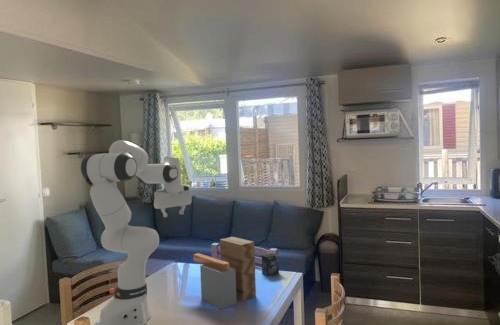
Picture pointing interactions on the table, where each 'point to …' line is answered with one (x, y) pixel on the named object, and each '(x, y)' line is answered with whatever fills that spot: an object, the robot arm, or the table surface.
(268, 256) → the box
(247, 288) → the tall plinth
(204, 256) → the bar
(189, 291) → the table surface
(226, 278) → the low plinth
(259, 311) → the table surface
